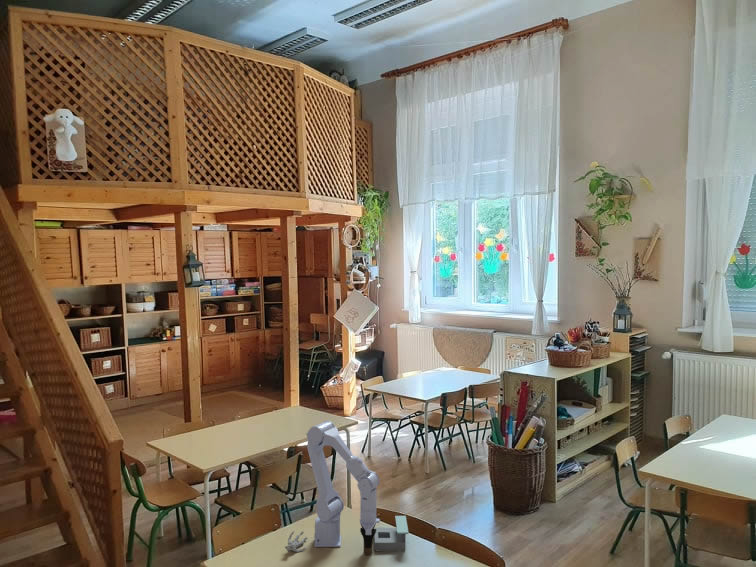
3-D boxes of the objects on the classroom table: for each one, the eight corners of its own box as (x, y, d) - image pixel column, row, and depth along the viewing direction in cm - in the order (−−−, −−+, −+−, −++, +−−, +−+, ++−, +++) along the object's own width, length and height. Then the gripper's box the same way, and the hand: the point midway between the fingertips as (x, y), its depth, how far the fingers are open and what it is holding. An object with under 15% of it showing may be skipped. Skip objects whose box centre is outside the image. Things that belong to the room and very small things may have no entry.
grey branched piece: (312, 544, 204) (302, 550, 193) (302, 553, 204) (292, 560, 192) (300, 527, 206) (290, 531, 195) (290, 535, 206) (279, 541, 195)
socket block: (374, 552, 197) (375, 532, 197) (374, 534, 210) (374, 515, 210) (408, 552, 197) (408, 532, 197) (405, 534, 210) (405, 515, 210)
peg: (363, 555, 195) (363, 530, 194) (363, 550, 198) (363, 526, 198) (372, 555, 195) (372, 530, 195) (372, 550, 198) (372, 526, 198)
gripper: (380, 517, 189) (379, 555, 189) (379, 498, 203) (378, 534, 204) (359, 517, 189) (359, 555, 189) (360, 498, 203) (359, 534, 204)
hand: (368, 545), depth 196 cm, fingers closed on peg, 3 cm apart
